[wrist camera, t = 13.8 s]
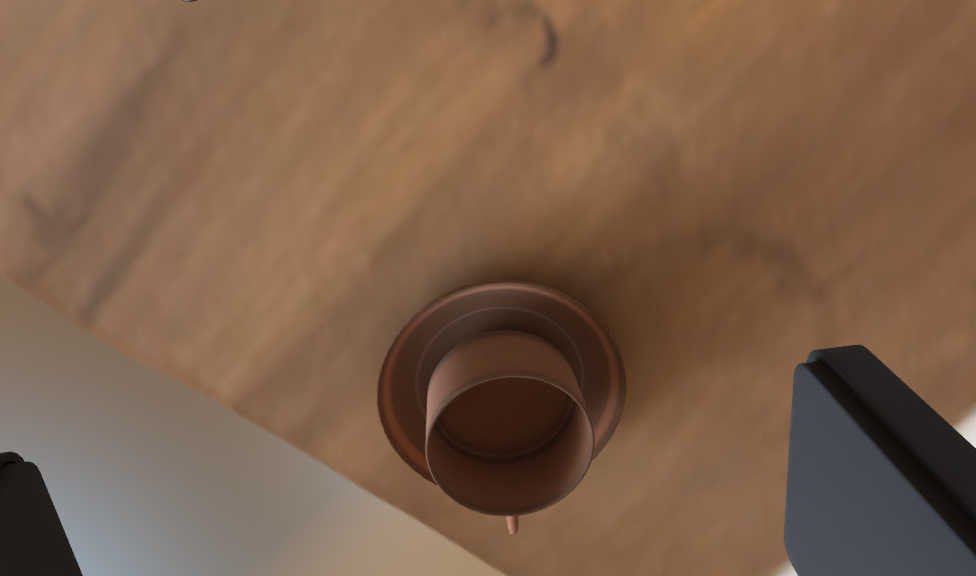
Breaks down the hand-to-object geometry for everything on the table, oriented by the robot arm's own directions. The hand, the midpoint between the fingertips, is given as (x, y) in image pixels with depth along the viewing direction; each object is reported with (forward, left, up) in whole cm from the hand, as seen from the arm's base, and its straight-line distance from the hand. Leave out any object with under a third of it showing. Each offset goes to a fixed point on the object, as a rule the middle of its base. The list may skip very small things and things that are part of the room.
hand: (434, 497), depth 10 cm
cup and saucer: (+7, +12, -26) cm, 30 cm away
